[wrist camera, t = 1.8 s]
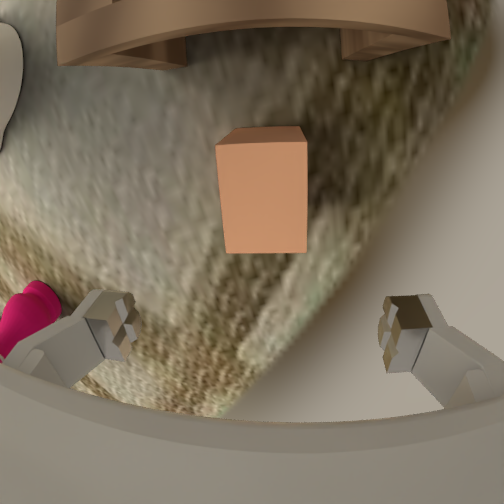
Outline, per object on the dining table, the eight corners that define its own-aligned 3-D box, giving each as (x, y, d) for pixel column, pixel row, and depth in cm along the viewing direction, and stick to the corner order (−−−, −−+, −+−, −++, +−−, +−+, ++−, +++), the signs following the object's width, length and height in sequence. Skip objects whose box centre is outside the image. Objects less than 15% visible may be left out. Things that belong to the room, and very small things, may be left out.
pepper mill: (73, 319, 36) (0, 434, 19) (42, 319, 38) (-26, 418, 20) (48, 274, 33) (-45, 388, 16) (19, 279, 34) (-64, 376, 17)
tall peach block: (241, 207, 27) (226, 253, 20) (235, 128, 23) (214, 145, 16) (300, 206, 26) (306, 252, 19) (299, 126, 23) (307, 142, 16)
